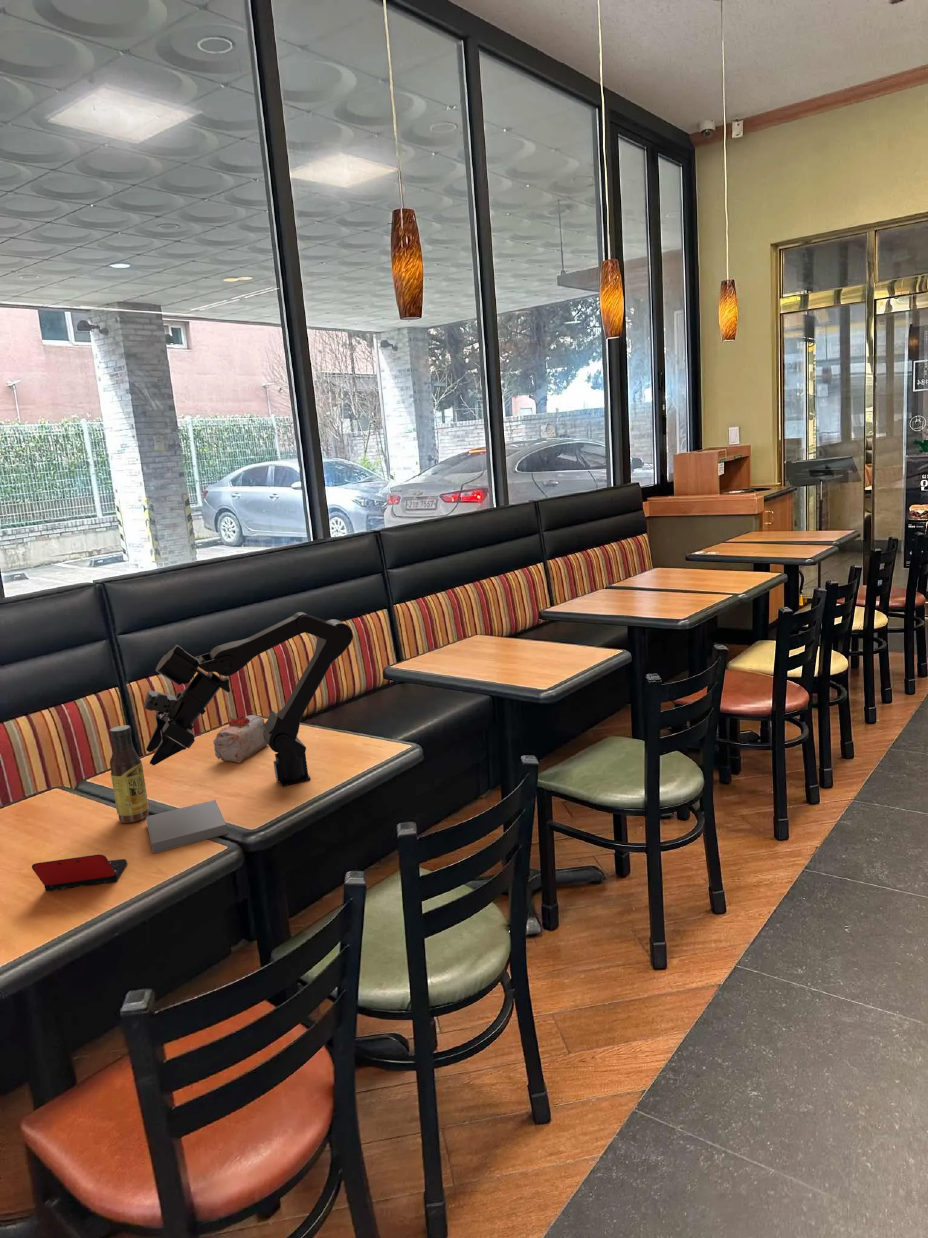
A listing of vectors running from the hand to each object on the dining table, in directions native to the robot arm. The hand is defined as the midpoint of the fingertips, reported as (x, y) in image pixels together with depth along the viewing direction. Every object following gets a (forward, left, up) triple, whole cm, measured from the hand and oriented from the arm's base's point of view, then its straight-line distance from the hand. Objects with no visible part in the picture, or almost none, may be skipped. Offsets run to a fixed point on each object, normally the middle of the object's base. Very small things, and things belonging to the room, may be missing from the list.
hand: (149, 757), depth 175 cm
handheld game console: (+15, +24, -13) cm, 31 cm away
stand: (-4, +13, -12) cm, 18 cm away
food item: (-22, -24, -13) cm, 35 cm away
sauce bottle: (+5, 0, -12) cm, 13 cm away
